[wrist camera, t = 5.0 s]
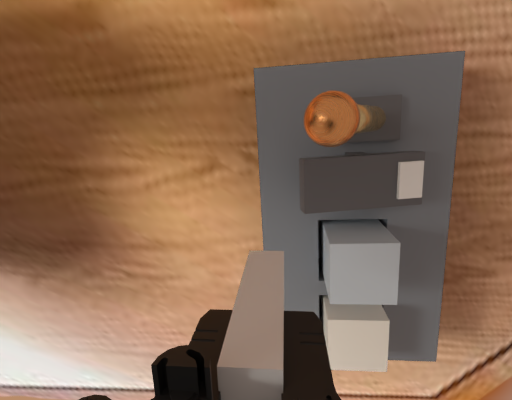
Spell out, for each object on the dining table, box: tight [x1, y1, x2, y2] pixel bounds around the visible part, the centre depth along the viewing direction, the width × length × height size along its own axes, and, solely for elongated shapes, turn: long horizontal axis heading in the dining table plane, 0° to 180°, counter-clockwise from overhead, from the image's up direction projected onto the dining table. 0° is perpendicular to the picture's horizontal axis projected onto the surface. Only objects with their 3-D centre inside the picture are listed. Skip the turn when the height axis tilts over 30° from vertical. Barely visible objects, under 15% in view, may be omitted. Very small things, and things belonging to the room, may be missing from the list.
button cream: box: [320, 295, 390, 372], centre depth 25 cm, size 4×4×6 cm
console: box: [254, 51, 465, 361], centre depth 25 cm, size 14×24×6 cm, turn 3°
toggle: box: [304, 91, 386, 147], centre depth 17 cm, size 3×3×9 cm
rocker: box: [299, 151, 425, 214], centre depth 20 cm, size 8×4×2 cm, turn 93°
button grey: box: [321, 219, 401, 305], centre depth 23 cm, size 4×4×6 cm
